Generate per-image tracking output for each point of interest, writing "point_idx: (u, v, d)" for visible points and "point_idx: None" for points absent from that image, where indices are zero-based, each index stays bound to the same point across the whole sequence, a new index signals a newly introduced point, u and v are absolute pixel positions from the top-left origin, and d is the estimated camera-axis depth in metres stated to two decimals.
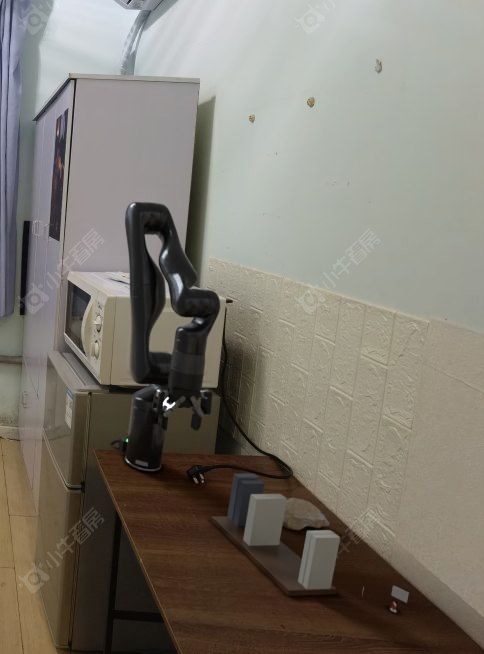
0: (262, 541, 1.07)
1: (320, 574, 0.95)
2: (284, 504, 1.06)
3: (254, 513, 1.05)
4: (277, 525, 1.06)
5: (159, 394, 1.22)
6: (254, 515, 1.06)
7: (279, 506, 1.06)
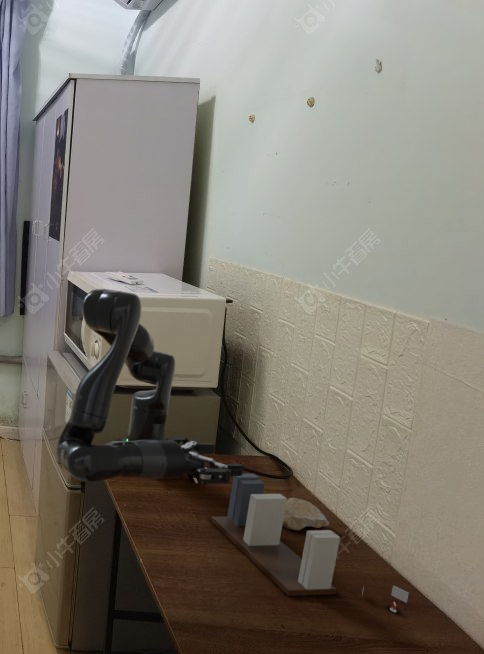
0: (262, 541, 1.07)
1: (320, 574, 0.95)
2: (284, 504, 1.06)
3: (254, 513, 1.05)
4: (277, 525, 1.06)
5: None
6: (254, 515, 1.06)
7: (279, 506, 1.06)
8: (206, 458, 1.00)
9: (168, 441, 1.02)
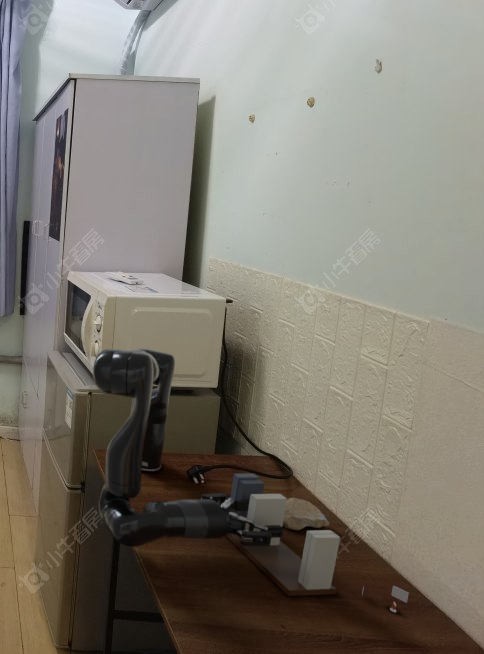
0: None
1: (320, 574, 0.95)
2: (284, 504, 1.06)
3: (254, 513, 1.05)
4: None
5: None
6: (254, 515, 1.06)
7: (279, 506, 1.06)
8: (246, 519, 1.03)
9: (208, 501, 1.05)
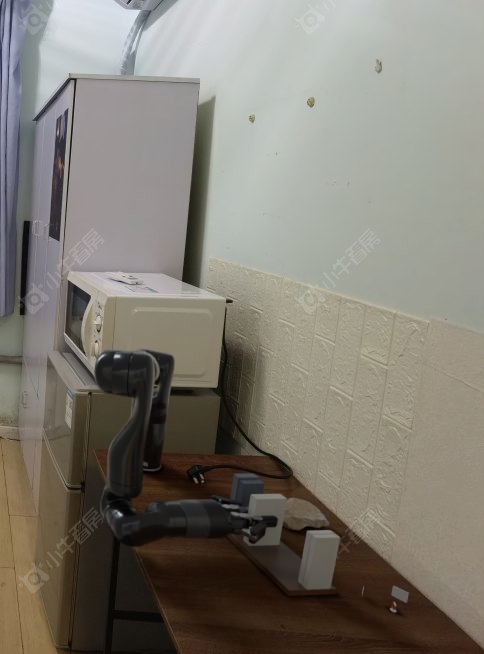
0: (262, 541, 1.07)
1: (320, 574, 0.95)
2: (284, 504, 1.06)
3: (254, 513, 1.05)
4: (278, 525, 1.06)
5: None
6: (254, 515, 1.06)
7: (279, 506, 1.06)
8: (245, 515, 1.05)
9: (210, 501, 1.05)
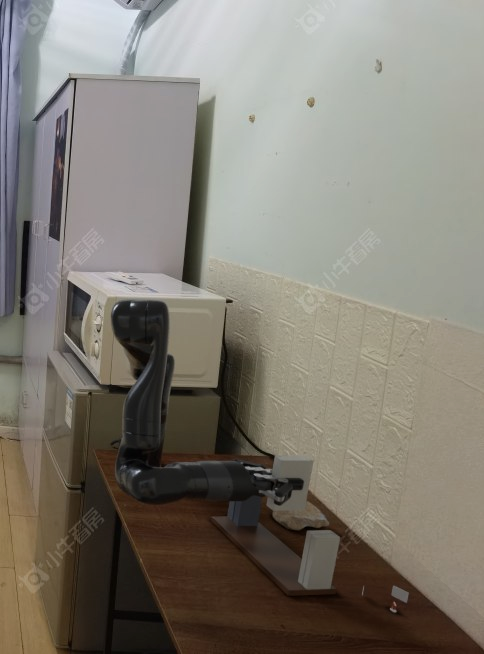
0: (287, 505, 1.01)
1: (320, 574, 0.95)
2: (310, 466, 1.00)
3: (278, 476, 0.99)
4: (303, 489, 1.00)
5: None
6: None
7: (305, 468, 1.00)
8: (269, 477, 0.99)
9: (232, 462, 0.99)
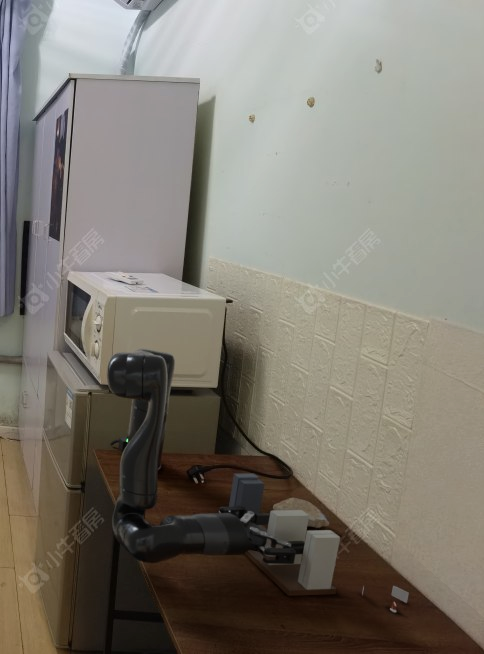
0: None
1: (320, 574, 0.95)
2: (306, 521, 1.00)
3: (274, 531, 1.00)
4: None
5: None
6: (274, 533, 1.00)
7: (301, 523, 1.00)
8: (268, 535, 0.98)
9: (228, 516, 1.00)
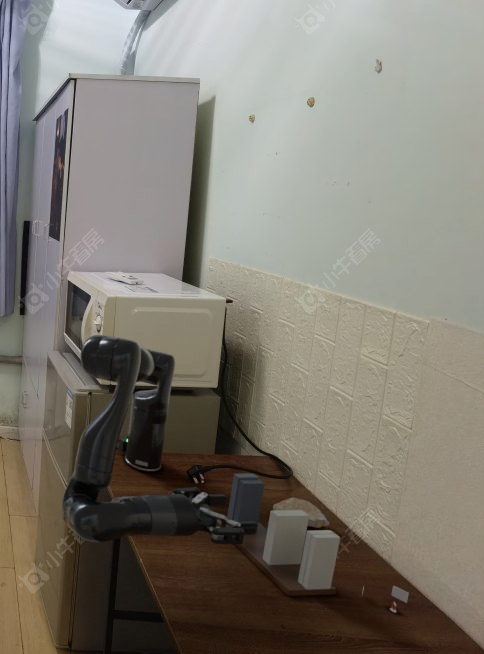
0: (283, 560, 1.01)
1: (320, 574, 0.95)
2: (306, 521, 1.00)
3: (274, 531, 1.00)
4: (299, 543, 1.01)
5: None
6: (274, 533, 1.00)
7: (301, 523, 1.00)
8: (218, 515, 0.96)
9: (178, 496, 0.98)
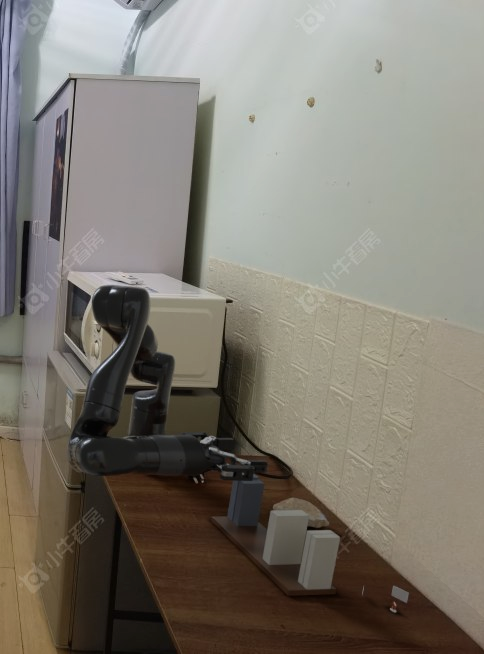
0: (283, 560, 1.01)
1: (320, 574, 0.95)
2: (306, 521, 1.00)
3: (274, 531, 1.00)
4: (299, 543, 1.01)
5: None
6: (274, 533, 1.00)
7: (301, 523, 1.00)
8: (227, 454, 0.94)
9: (186, 436, 0.96)
